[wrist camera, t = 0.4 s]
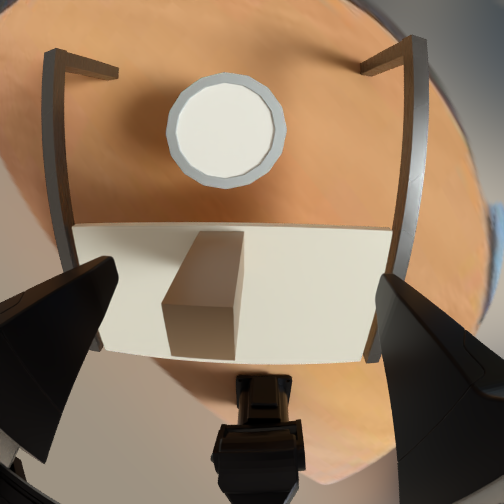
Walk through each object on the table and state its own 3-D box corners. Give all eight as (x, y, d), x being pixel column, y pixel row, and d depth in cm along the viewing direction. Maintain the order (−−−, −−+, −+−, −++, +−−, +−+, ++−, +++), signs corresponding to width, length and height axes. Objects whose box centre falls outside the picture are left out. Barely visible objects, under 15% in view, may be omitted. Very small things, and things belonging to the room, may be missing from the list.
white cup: (174, 132, 22) (142, 136, 15) (234, 71, 20) (224, 49, 13) (235, 189, 24) (226, 213, 17) (297, 130, 22) (312, 131, 15)
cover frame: (349, 297, 27) (378, 362, 19) (128, 291, 28) (89, 349, 20) (371, 64, 19) (426, 39, 10) (108, 68, 19) (44, 52, 11)
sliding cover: (358, 355, 20) (385, 439, 13) (108, 345, 20) (68, 418, 13) (388, 227, 16) (458, 295, 9) (76, 223, 16) (-2, 280, 9)
